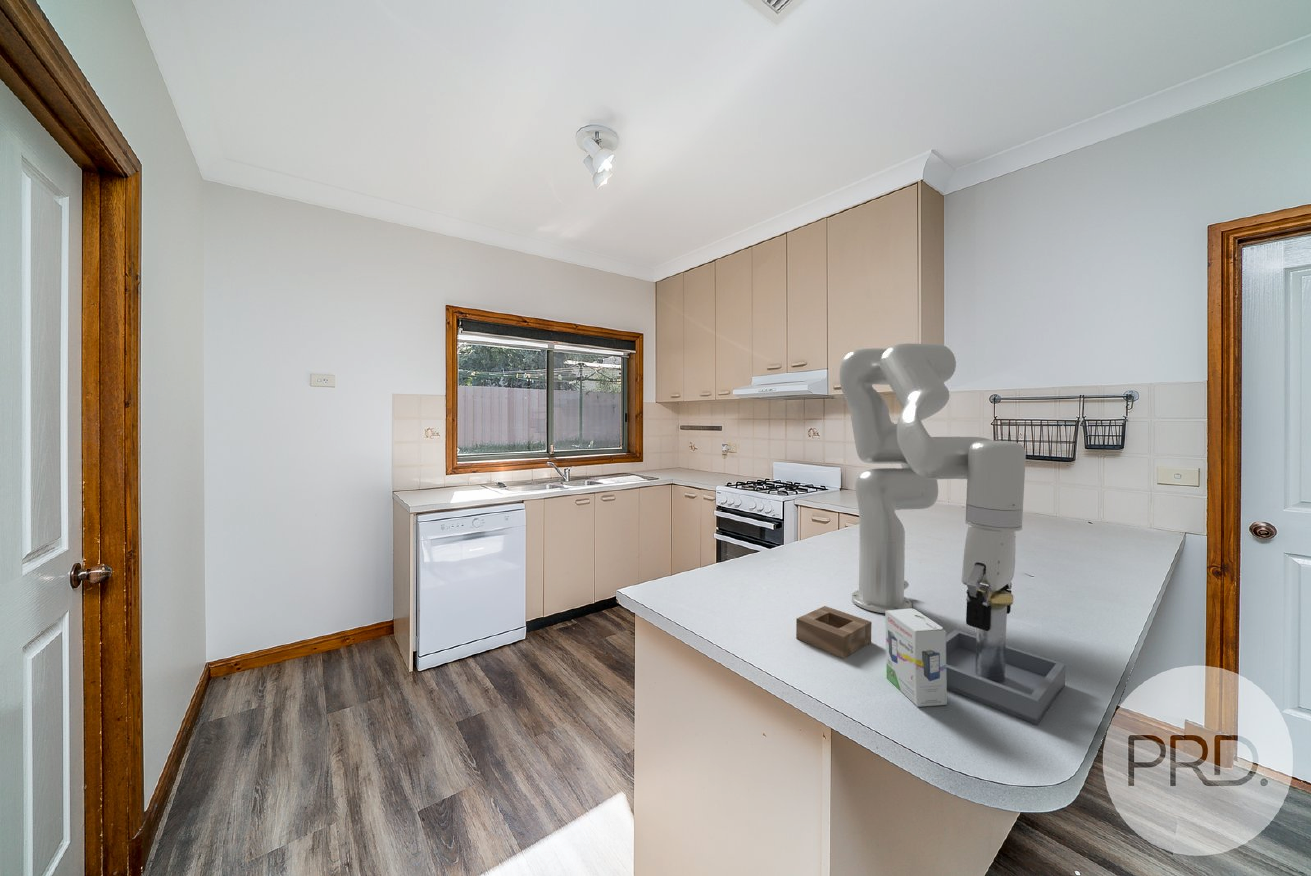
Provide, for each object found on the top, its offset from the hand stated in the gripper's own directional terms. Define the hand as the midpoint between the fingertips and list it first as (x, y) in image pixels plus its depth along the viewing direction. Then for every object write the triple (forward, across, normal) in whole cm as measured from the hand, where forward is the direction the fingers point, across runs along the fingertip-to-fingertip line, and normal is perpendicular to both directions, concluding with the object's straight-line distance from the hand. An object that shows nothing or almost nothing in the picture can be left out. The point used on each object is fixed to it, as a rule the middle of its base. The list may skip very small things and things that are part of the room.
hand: (988, 618), depth 78 cm
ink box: (+10, +13, -6) cm, 18 cm away
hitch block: (+11, +8, -23) cm, 27 cm away
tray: (+10, 0, +1) cm, 10 cm away
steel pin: (+9, 0, +1) cm, 9 cm away
